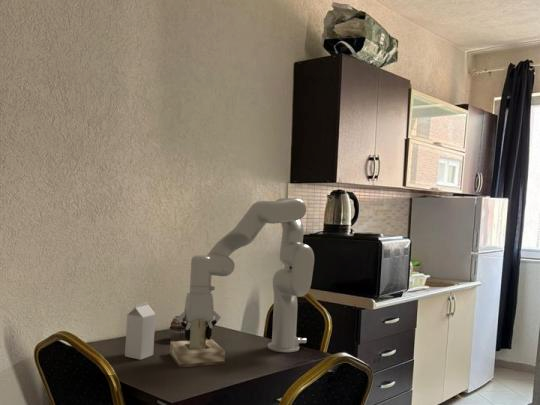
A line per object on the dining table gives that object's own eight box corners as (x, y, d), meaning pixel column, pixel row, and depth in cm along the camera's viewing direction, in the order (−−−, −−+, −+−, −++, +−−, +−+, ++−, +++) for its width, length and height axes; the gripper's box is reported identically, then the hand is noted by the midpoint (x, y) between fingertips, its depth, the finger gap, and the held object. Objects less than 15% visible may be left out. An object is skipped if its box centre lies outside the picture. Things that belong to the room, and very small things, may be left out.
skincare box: (200, 355, 171) (201, 320, 172) (188, 354, 172) (190, 319, 172) (206, 350, 178) (207, 316, 178) (194, 349, 178) (196, 315, 179)
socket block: (211, 351, 185) (212, 339, 185) (224, 363, 171) (225, 350, 171) (169, 354, 179) (170, 341, 179) (179, 367, 164) (180, 354, 164)
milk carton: (153, 355, 176) (156, 302, 177) (140, 360, 170) (143, 305, 170) (137, 352, 179) (140, 300, 180) (124, 356, 173) (127, 303, 173)
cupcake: (163, 340, 197) (164, 316, 197) (179, 336, 205) (181, 312, 205) (181, 345, 192) (182, 319, 192) (197, 340, 200) (198, 315, 200)
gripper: (220, 287, 182) (217, 335, 182) (174, 288, 175) (171, 338, 175) (226, 291, 175) (224, 340, 175) (178, 292, 169) (176, 343, 168)
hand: (197, 339), depth 175 cm, fingers closed on skincare box, 6 cm apart
